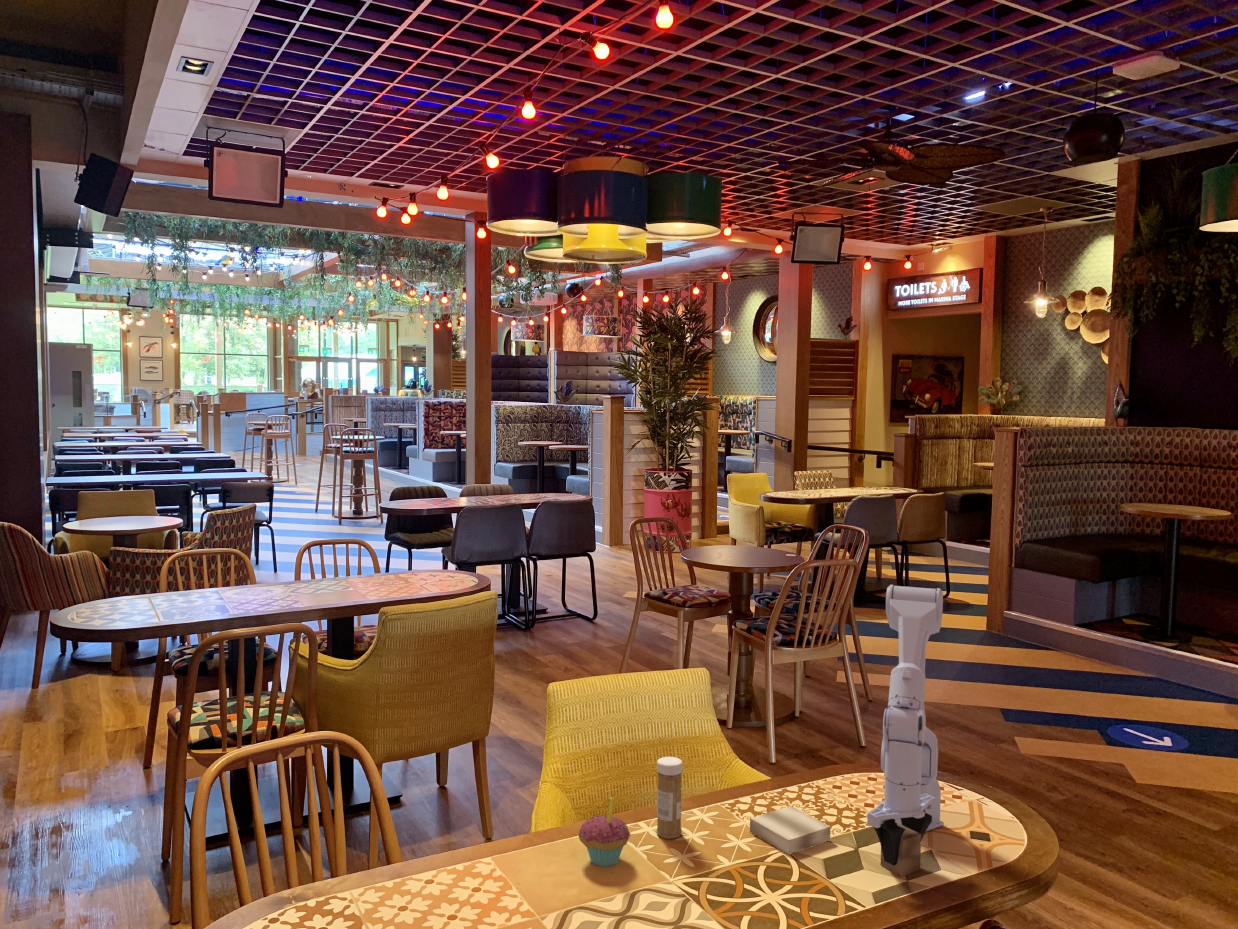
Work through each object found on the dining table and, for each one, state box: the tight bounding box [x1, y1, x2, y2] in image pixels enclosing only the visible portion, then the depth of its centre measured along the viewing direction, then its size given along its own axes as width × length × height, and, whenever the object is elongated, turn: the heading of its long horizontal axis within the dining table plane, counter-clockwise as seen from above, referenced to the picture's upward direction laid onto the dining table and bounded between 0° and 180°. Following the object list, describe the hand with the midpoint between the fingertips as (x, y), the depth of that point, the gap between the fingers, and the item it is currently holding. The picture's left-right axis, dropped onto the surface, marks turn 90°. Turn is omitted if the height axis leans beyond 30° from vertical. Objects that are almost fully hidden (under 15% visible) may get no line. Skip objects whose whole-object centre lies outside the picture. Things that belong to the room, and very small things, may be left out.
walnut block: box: [880, 824, 922, 877], centre depth 151 cm, size 4×4×6 cm
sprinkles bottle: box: [656, 756, 684, 840], centre depth 162 cm, size 5×5×13 cm
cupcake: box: [578, 793, 631, 867], centre depth 152 cm, size 9×8×12 cm
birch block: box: [749, 805, 831, 855], centre depth 162 cm, size 10×10×3 cm
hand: (900, 858), depth 151 cm, fingers closed on walnut block, 4 cm apart
